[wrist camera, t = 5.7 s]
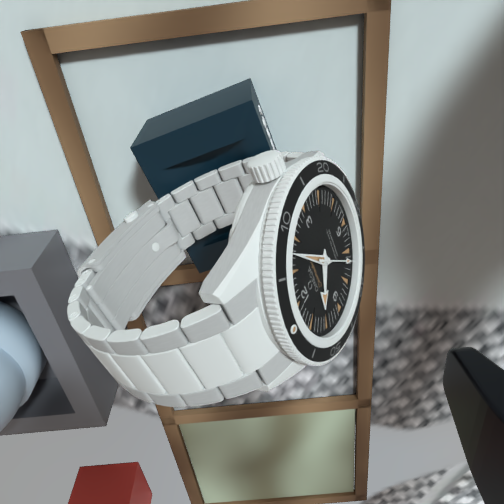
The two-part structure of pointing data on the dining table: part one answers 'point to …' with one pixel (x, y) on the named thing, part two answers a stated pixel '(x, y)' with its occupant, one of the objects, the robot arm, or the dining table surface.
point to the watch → (225, 259)
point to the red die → (111, 485)
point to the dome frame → (53, 338)
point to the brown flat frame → (225, 417)
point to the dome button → (17, 362)
